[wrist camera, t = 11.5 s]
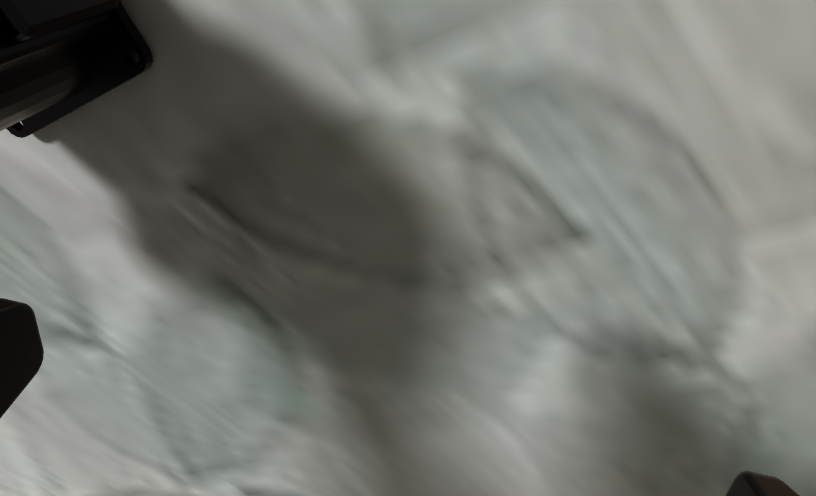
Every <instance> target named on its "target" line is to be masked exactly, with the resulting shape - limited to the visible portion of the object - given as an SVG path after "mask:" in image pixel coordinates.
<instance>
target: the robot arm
mask: <svg viewBox="0 0 816 496" xmlns="http://www.w3.org/2000/svg"><path fill="white" fill-rule="evenodd" d="M131 51H134V52H135V53H136V54H137V56H138V58H139V63H137V62H135V61H134V60H133V59H132V56H131ZM152 63H153V55H152V53H151V50H150V48H149V47H148V45H147V44H146V42H145V40H144V39H143V37H142V36H141V34H140V33H139V31H138V29H137V28H136V26H135V25H134V23H133V22H132V20H131V18H130V17H129V15H128V14H127V12H126V11H125V9H124V8H123V6H122V4H121V3H120V1H119V0H0V131H1V130H3V129H6V128H7V130H8V131H9V132H10V133H11V134H13V135H15V136H17V137H21V138H23V137H27V136H28V135H30V134H32V133H34V132H36V131H38V130H40V129H41V128H43V127H45V126H47V125H49V124H50V123H52V122H54V121H56V120H58V119H59V118H61V117H63V116H65V115H67V114H69V113H70V112H72V111H74V110H76V109H78V108H79V107H81V106H83V105H85V104H87V103H88V102H90V101H92V100H94V99H96V98H97V97H99V96H101V95H103V94H105V93H107V92H108V91H110V90H112V89H114V88H116V87H117V86H119V85H121V84H123V83H125V82H126V81H128V80H130V79H132V78H134V77H135V76H137V75H139V74H141V73H143V72H145V71H146V70H148V69H149V68H150V67H151V66H152ZM20 121H22V123H23V125H22V124H21V123H20ZM43 354H44V351H43V346H42V342H41V338H40V334H39V330H38V326H37V322H36V318H35V314H34V311H33V310H32V308H31V307H30V306H29V305H27V304H25V303H21V302H17V301H12V300H8V299H3V298H0V418H1V417H2V416H3V414H4V413H5V412H6V411H7V409H8V408H9V407H10V406H11V404H12V403H13V402H14V401H15V400H16V398H17V397H18V396H19V395H20V393H21V392H22V391H23V390H24V388H25V387H26V386H27V385H28V383H29V382H30V381H31V380H32V378H33V377H34V376H35V375H36V373H37V372H38V370H39V368H40V366H41V364H42V361H43ZM725 496H799V495H798V494H797V493H796V492H794V491H793V490H792V489H791V488H790V487H789V486H788V485H786V484H785V483H784V482H783V481H781V480H780V479H778V478H776V477H772V476H768V475H763V474H759V473H755V472H750V471H744V472H741V473H740V474H738V475H737V477H736V478H735V480H734V481H733V483H732V485H731V487H730V488H729V490H728V492H727V494H726V495H725Z"/></svg>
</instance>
